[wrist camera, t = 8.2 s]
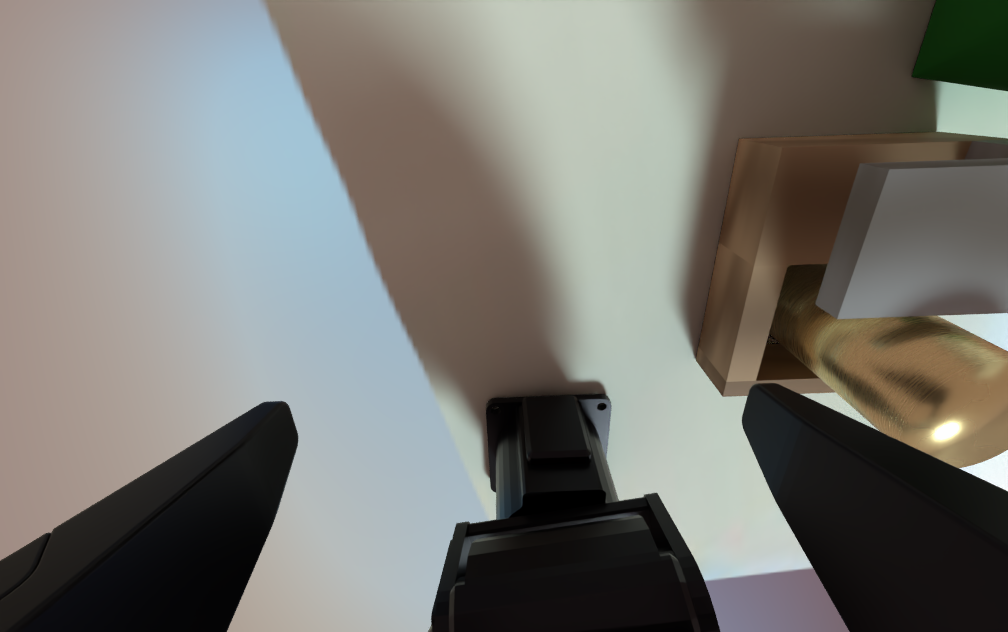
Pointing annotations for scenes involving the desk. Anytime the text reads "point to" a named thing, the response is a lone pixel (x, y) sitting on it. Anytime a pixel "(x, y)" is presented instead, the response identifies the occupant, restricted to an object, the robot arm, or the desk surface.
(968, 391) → the peg
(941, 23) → the milk carton
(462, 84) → the desk surface
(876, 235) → the socket block
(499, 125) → the desk surface
